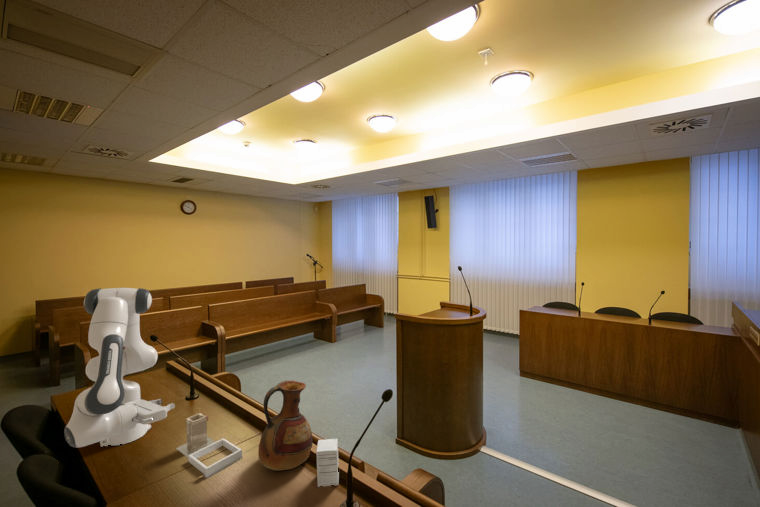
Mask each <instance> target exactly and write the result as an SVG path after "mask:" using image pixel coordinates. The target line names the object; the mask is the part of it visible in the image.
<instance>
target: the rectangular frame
mask: <svg viewBox="0 0 760 507" xmlns="http://www.w3.org/2000/svg"><path fill="white" fill-rule="evenodd" d="M222 447H224V448H226V449H227V450H229V451H230V452H232V453H231V454H228V455H227V456H225V457H223V458H221V459H219V460H218V461H216V462H214V463H212V464H211V465H209V466H207V465H206V464H204V463H203V462H201V461H200V460H199V458H201V457H202V458H203V457H204V456H205V455H207V454H209V453H212V452H213V451H215V450H217V449H219V448H222ZM240 458H242V459H243V449H242V448H240V447H239V446H237V445H236V444H234V443H232V442H230V441H228V440H227V439H226V438H224V437H223V438H220V439H219V440H217V441H216V442H215V443H213V444H211V445H209V446H207V447H204V448H202V449H200V450H198V451H196V452H194V453H192V454H190V455H188V457H187V459H188V463H190V464H191V465H192V466H193V467H195V468H196V469H197V470H199V471H200V472H201V473H202V474H201V475H202V476H203V477H204V478H205V479H208V478H210V477H212V476H214V475H215V474H217V473H219V472H221V471H222V470H224V469H226V468H228V467H229V466H231V465H233V464H235V463H236V462H235V461H237V460H238V461H240V460H241V459H240ZM239 459H240V460H239ZM238 461H237V462H238ZM234 462H235V463H234ZM232 463H233V464H232ZM227 466H228V467H227ZM225 467H226V468H225Z"/></svg>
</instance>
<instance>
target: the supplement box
mask: <svg viewBox="0 0 760 507" xmlns="http://www.w3.org/2000/svg"><path fill="white" fill-rule="evenodd" d="M317 440H318V441H317V445H316V475H317V476H316V478H317V479H316V480H317V482H316V483H317V487H318V488H319V487H320V486H323V487H332V486H331V485H334V486H339V482H340V481H339V479H340V471H339V472H338V466H340V465H339V441H338V438H328V439H317ZM320 488H321V487H320Z"/></svg>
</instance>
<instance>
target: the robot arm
mask: <svg viewBox="0 0 760 507" xmlns="http://www.w3.org/2000/svg"><path fill="white" fill-rule="evenodd" d="M152 303H153V297H152V294H151V292H150V290H148V289H146V288H141V287H140V288H133V287H113V288H111V287H110V288H101V287H100V288H94V289H91V290H89V291H88V292H87V293H86V295H85V298H84V300H83V307H84V310H85V312H87V314H89V315H92V316H91V320H90V323H89V328H88V332H87V333H88V338H87V339H88V341H87V343H88V345H89V346H90V347H91V348H92V349H94V350H96V351H97V352H98V356H95V357H93V358H91V359H89V360H88V362H87V363H86V366H85V375H86V377H87V378H88V379H89V380H91V381H92V382H94V383H93V385H92V386H91V387H89V388H86V389H84V390H83V391H81V392H80V393H79V394H78V395H77V396H76V398H75V400H74V404H73V410H72V411H73V412H72V414H71V417H70V419H69V421H68V423H67V424H66V426H65V427H64V431H63V433H64V438H65V441H66V442H67V444H68V445H69V447H72V448H75V449H76V448H84V447H87V446H89V445H93V444H95V443H99V445H100V447H102V448H104V447H103V446H105V447H109V446H108V445H111V446H121V445H120V444H122V445H126V444H128V443H132V442H133V441H136V440H138V439H140V438H141V437H144V435H145V434H146V433H147V432H148V431H149V430H150V429H151V428H152V425H151V424H152V423H155V422H158V421H162V420H165V419H166V418H167V417H168V412H169V411H171V410H173V409H175V408H176V405H175V403H174V402H171V403H168V404H167V405H166V406H165V405H164V406H162V404H163V399H162V398H158V399H152V400H149V401H148V400H145V399H142V398H141V386H140V384H139V383H138V382H136V381H132V380H126V379H124V376H126V375H130V374H134V373H138V372H143V371H145V370H147V369H149V368H152V367H154V365H156V363H157V361H158V359H159V358H158V357H159V355H158V354H159V353H158V351H157V350H156V349H155V347H154V346H152V345H149V344H147V343H146V342H144V340H143V339H142V337H141V330H140V329H141V326H140V320H141V319H140V314H144V313H146V312H147V311H149V309H150V308H151V305H152Z"/></svg>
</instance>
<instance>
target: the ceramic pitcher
mask: <svg viewBox="0 0 760 507" xmlns="http://www.w3.org/2000/svg"><path fill="white" fill-rule="evenodd" d="M306 386H307V384H306V383H305V382H300V381H297V380H284V381H280V383H277V384H276V385H275V386H273V387H272V388H270V389H269V390H268V391H267V392H266V394H265V397H264V399H263V412H264V415H265V419H266V422H267V423H266V424H267V425H266V427H265V429H264V430H263V432H262V434H261V437H260V440H259V445H258V460H259V462H260V463H261V465H262V466H264V467H265V468H266V469H269V470H272V471H285V470H286V471H287V470H291V469H294V468H296V467H298V466H300V465H301V464H303V463H304V462H306V461H307V460H308V459H309V457H310V456H311V454H310V450H311V448H313V433H312V429H311V426H310V423H309V421H308V420H307V419H306V417H305V416H304V415H303V414H302V413H300V407H299V404H300V402H301V393H302V392H303V390H305V389H306ZM276 392H281V393H282V397H283V400H282V407H281V409H280V412H279V413H278V414H276V415H275V416H273V417H271V416H270V414H269V410H268V406H269V405H268V404H269V401H270V398H271V396H272V395H273V394H275V393H276ZM311 451H312V450H311ZM309 455H310V456H309Z"/></svg>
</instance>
